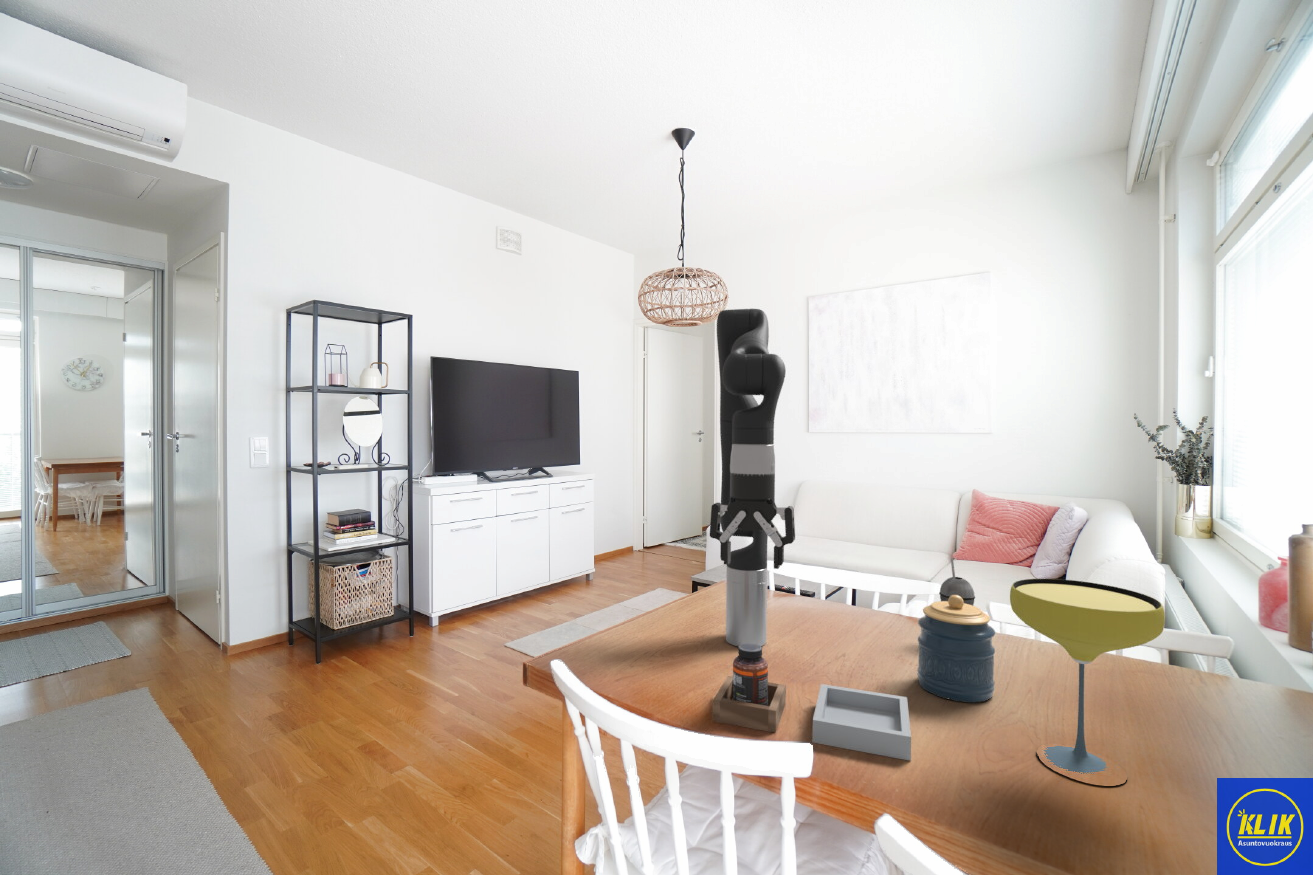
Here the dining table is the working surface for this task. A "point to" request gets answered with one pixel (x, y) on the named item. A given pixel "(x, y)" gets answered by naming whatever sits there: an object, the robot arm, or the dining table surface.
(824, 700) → the tray
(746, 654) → the supplement bottle
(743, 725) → the socket block
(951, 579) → the beverage cup
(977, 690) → the canister
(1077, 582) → the cocktail glass
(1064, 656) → the dining table surface
